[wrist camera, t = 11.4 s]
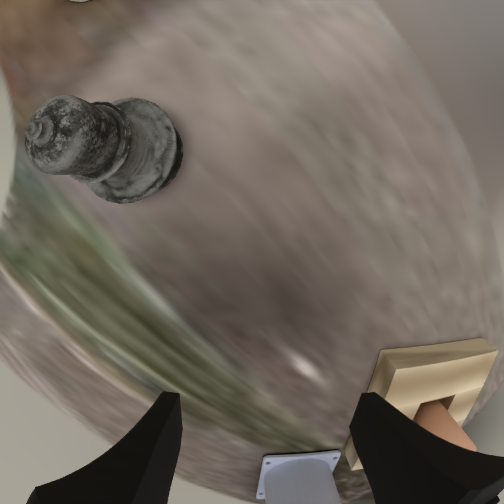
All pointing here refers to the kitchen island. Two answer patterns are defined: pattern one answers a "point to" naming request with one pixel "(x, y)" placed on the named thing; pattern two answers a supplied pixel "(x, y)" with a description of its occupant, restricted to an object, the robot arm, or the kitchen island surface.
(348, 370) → the kitchen island surface
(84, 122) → the chess piece
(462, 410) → the socket block
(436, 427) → the peg
